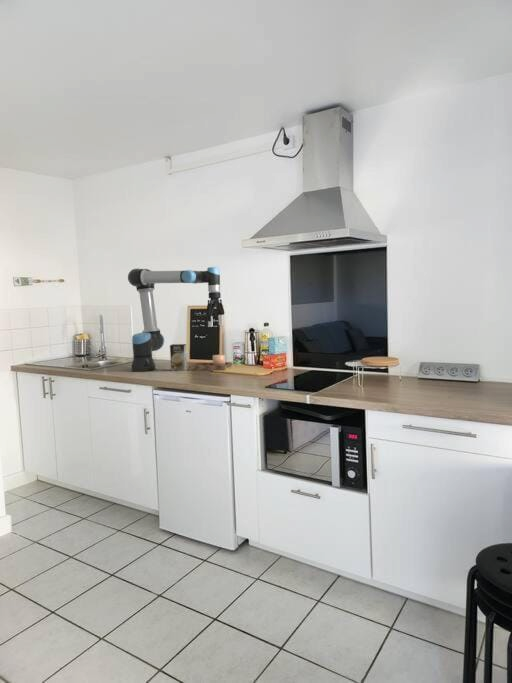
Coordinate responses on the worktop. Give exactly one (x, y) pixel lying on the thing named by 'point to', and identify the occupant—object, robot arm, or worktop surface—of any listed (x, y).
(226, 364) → the caddy
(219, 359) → the light brown rounded block
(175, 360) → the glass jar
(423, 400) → the worktop surface
